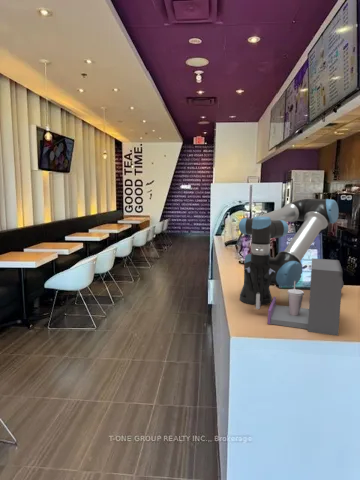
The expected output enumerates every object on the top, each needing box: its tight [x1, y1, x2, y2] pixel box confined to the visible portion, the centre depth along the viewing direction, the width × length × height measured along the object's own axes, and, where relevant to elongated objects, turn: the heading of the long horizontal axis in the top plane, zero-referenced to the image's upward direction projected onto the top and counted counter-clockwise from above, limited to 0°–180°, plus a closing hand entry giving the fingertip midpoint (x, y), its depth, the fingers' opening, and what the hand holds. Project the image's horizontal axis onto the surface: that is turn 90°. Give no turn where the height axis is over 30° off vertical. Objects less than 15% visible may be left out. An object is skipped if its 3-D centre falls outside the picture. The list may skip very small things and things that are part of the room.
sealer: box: [307, 258, 344, 336], centre depth 138 cm, size 10×23×24 cm, turn 159°
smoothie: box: [286, 281, 305, 316], centre depth 143 cm, size 6×6×14 cm
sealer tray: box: [267, 296, 309, 330], centre depth 144 cm, size 16×20×6 cm
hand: (258, 308), depth 149 cm, fingers closed
